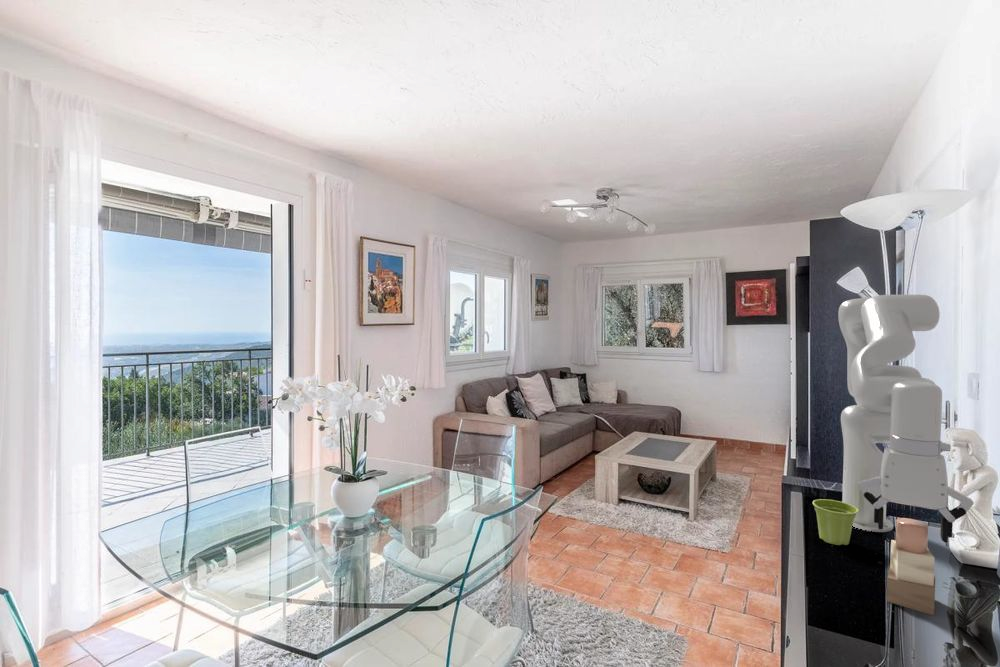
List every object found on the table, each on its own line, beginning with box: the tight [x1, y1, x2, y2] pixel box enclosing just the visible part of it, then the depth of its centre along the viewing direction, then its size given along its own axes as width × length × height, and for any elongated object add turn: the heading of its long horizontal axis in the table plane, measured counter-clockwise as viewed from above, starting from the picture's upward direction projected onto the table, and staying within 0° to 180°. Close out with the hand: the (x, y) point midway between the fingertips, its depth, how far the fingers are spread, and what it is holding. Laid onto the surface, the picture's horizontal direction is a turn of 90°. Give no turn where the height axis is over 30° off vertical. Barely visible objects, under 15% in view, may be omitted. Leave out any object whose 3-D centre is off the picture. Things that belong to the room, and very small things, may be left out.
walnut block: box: [886, 566, 936, 616], centre depth 99 cm, size 7×7×5 cm
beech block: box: [889, 539, 936, 586], centre depth 99 cm, size 6×6×6 cm
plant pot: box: [812, 498, 858, 546], centre depth 125 cm, size 9×9×9 cm
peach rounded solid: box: [895, 517, 929, 554], centre depth 99 cm, size 5×5×5 cm
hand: (911, 533), depth 99 cm, fingers open, 9 cm apart
